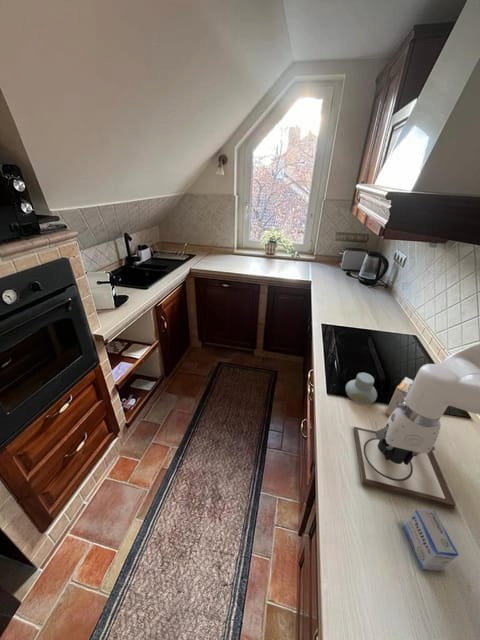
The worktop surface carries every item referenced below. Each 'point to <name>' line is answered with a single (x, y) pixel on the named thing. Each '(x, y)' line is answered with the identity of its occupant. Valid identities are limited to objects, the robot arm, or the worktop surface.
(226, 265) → the worktop surface
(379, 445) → the cylinder
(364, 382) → the air freshener
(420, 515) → the medicine box
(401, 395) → the supplement box
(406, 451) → the cylinder
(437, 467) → the sketch board
